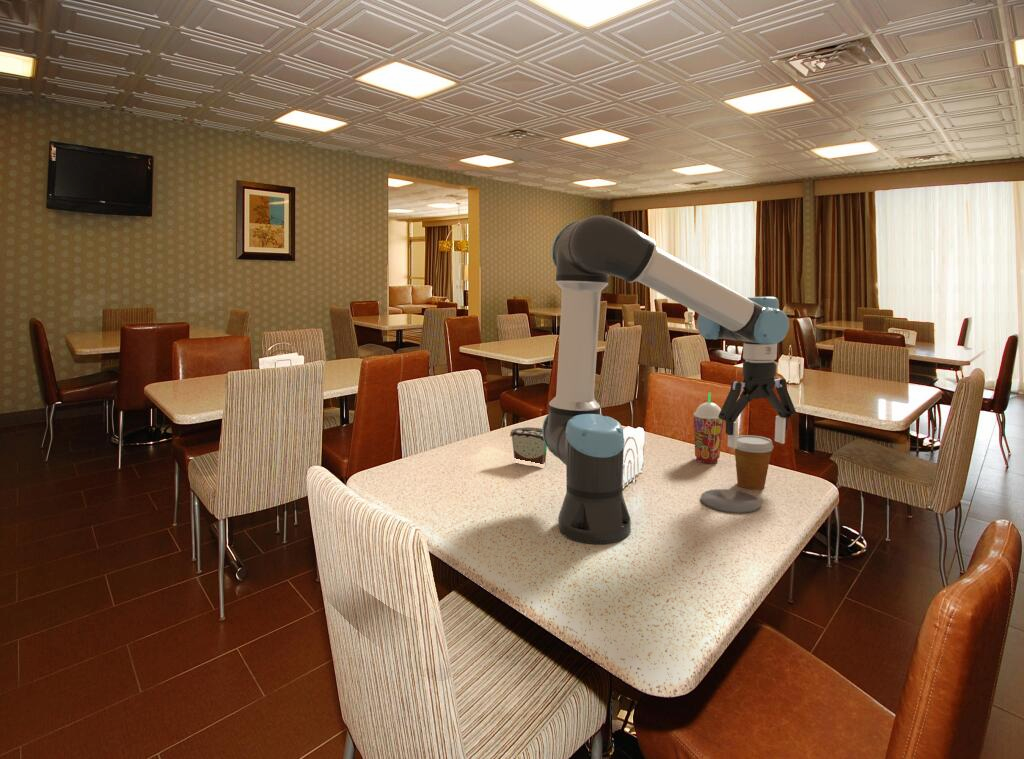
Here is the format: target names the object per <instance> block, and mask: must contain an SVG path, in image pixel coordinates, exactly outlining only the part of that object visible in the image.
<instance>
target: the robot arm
mask: <svg viewBox="0 0 1024 759" xmlns="http://www.w3.org/2000/svg"><path fill="white" fill-rule="evenodd" d="M551 257H552V258H551V260H552V263H553V264H554V266H555V267H556V269H555V270H556V271H555V283H556V285H557V286H558V287H559V289H561V303H560V304H561V305H560V321H559V338H558V339H559V341H558V355H557V356H558V359H557V374H556V389H555V390H556V393H555V396H554V397H553V398H552V399H551V400H550V401H549V402H548V414H547V415H546V416H545V418H544V420H543V423H542V428H541V429H542V435H543V439H544V442H545V444H546V446H547V450H548V451H549V452H550V453H551V454H552V456H553V455H554V457H556V458H558V459H559V460H560V461H561V463H563V464H564V465H565V467H566V474H565V476H566V488H565V489H566V490H565V491H566V493H565V496H564V500H563V502H562V504H561V508H560V511H559V514H558V518H557V521H558V522H557V523H558V524H557V525H558V527H557V528H559V529H558V531H559V530H560V531H559V532H560V533H561V534H562V536H564V535H565V536H564V537H566V538H568V539H571V540H573V541H575V542H580V543H585V544H595V545H596V544H599V545H600V544H610V543H616V542H619V541H621V540H624V539H625V538H627V537H628V536H629V535H630V534H631V531H632V530H631V529H632V528H631V527H632V526H631V525H632V520H631V516H630V513H629V510H628V507H627V503H626V502H625V498H624V494H623V490H624V489H623V487H624V486H623V482H624V449H625V448H624V447H625V438H624V429H623V428H624V427H623V426H622V424H621V423H620V422H619V421H618V420H616V419H614V418H613V417H611V416H607V415H605V416H604V415H602V414H601V413H600V412H601V405H600V403H598V402H597V400H596V399H595V386H596V385H595V384H596V371H597V370H596V369H597V356H598V341H599V340H598V339H599V324H600V313H601V312H600V310H601V297H602V295H601V293H602V291H603V290H604V289H605V288H606V287H608V286H609V282H610V281H609V280H610V278H609V277H610V276H613V277H615V278H619V279H622V280H623V281H625V282H626V283H629V284H631V283H634V282H638V283H640V284H642V285H644V286H645V287H647V288H649V289H651V290H653V291H655V292H657V293H659V294H661V295H663V296H665V297H666V298H669V299H670V300H672V301H673V302H676V303H677V304H680V305H682V306H684V307H685V308H688V309H689V310H691V311H693V312H695V313H697V314H698V317H697V326H696V327H697V331H698V333H699V336H701V338H704V339H705V340H719V339H723V340H730V341H731V340H732V341H738V342H743V350H742V359H743V360H744V361H743V362H742V376H743V380H742V381H741V382H739V381H735V380H732V381H731V383H730V389H729V392H728V395H727V396H726V398H725V401H724V403H723V405H722V407H721V411H720V413H719V416H718V417H719V419H722V420H724V422H725V431H724V432H725V434H726V435H727V445H726V446H727V447H729V448H732V449H734V450H735V449H737V436H738V430H739V429H738V428H739V427H738V422H736V420H737V419H738V417H739V416H740V415H741V413H742V412H743V411H744V410H745V408H746V407H747V405H748V404H749V403H750V402H752V401H753V400H759V399H766V400H767V401H768V402H769V403H770V404H771V406H772V407H773V409H774V410H775V412H776V413H777V414H778V415H776V416H775V423H774V424H775V426H774V442H777V443H779V444H782V445H784V444H785V443H786V430H788V425H789V424H788V423H789V419H791V418H792V415H795V414H796V413H797V411H796V408H795V406H794V403H793V401H792V398H791V396H790V394H789V391H788V389H787V380H786V378H781V377H776V376H777V362H776V361H775V360H777V358H778V357H777V356H778V343H780V342H782V341H783V340H784V339H785V338H786V336H787V334H788V332H789V329H790V321H789V317H788V315H787V314H786V313H785V312H784V311H782V310H780V303H779V299H778V298H777V297H775V296H750V297H746V296H744V295H742V294H740V293H738V292H737V291H735V290H733V289H731V288H729V287H728V286H726V285H724V284H723V283H721V282H720V281H717V280H716V279H714V278H712V277H710V276H708V275H706V274H705V273H703V272H701V271H700V270H698V269H696V268H694V267H693V266H691V265H689V264H687V263H686V262H683V261H682V260H680V259H679V258H676V257H675V256H673V255H671V254H669V253H668V252H666V251H664V250H662V249H661V248H659V247H657V244H656V241H655V239H654V238H652V237H650V236H648V235H646V234H644V232H642V231H640V230H638V229H636V228H635V227H633V226H631V225H629V224H627V223H625V222H623V221H621V220H619V219H617V218H615V217H613V216H612V217H611V216H609V215H601V214H599V215H597V214H596V215H591V216H589V217H586V218H584V219H582V220H576V221H573V222H571V223H568V224H567V225H566V226H564V227H563V228H562V229H561V230H560V231H558V233H557V234H556V236H555V237H554V238H553V242H552V244H551ZM775 377H776V378H775ZM774 387H775V390H776V393H775V391H774ZM777 396H778V397H779V398H778V397H777Z"/></svg>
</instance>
